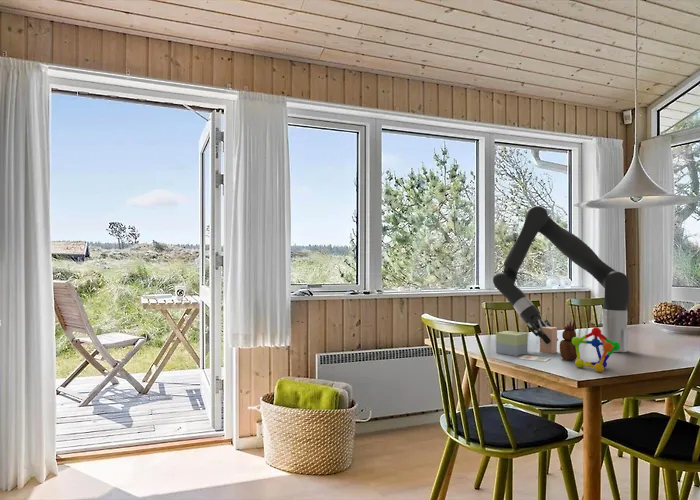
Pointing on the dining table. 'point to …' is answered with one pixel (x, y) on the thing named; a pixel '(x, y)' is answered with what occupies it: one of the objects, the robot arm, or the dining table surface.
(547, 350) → the brick
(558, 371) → the dining table surface
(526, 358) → the page
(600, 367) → the educational toy
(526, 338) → the pedestal
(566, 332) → the wooden figurine
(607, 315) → the robot arm
